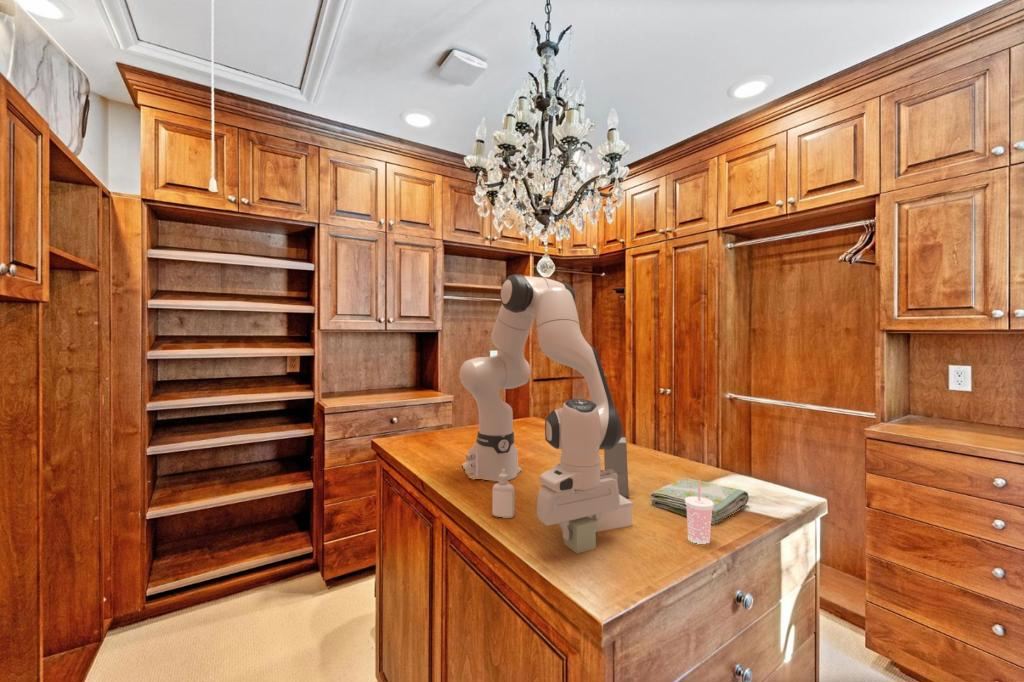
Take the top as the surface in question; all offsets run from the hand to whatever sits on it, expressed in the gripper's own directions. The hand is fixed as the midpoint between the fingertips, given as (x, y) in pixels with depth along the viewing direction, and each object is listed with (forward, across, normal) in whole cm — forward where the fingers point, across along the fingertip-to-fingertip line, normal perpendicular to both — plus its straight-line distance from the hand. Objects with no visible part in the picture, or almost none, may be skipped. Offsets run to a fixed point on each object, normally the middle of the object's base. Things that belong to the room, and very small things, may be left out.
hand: (579, 535), depth 99 cm
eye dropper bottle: (+2, +8, -22) cm, 24 cm away
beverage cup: (+2, -26, +10) cm, 28 cm away
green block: (+2, 0, 0) cm, 2 cm away
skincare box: (+3, -29, -22) cm, 36 cm away
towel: (+3, -43, -4) cm, 43 cm away
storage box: (+3, -12, -10) cm, 16 cm away
